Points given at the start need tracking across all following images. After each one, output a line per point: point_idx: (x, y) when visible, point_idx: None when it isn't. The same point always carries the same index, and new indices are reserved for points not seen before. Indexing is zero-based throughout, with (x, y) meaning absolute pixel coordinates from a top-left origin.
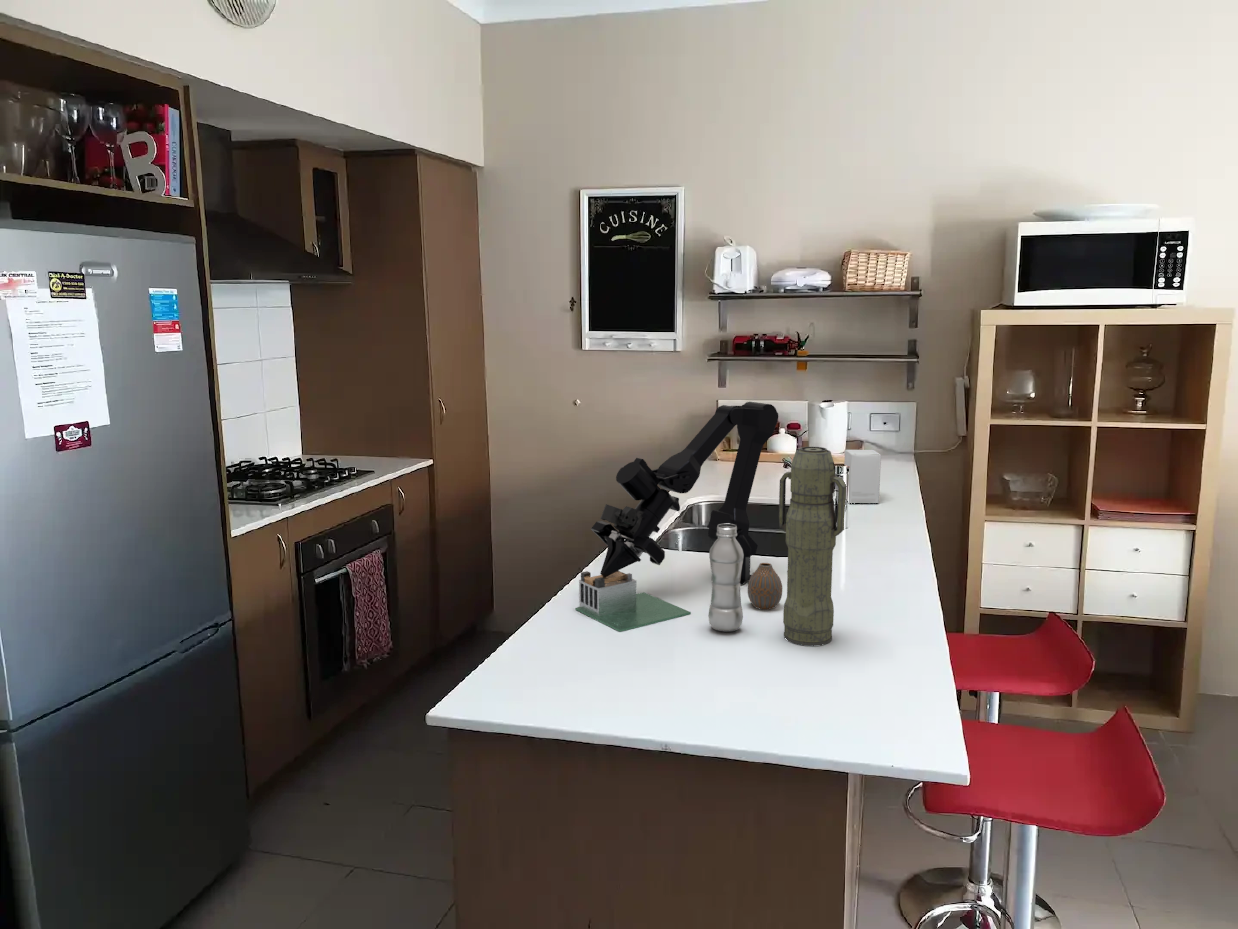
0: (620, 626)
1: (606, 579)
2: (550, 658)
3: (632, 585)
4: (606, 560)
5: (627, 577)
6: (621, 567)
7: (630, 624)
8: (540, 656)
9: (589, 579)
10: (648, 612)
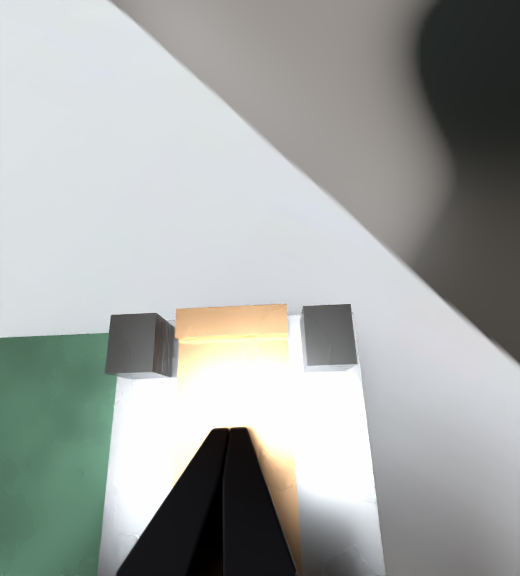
0: (22, 361)
1: (174, 435)
2: (8, 81)
3: None
4: (245, 545)
5: None
6: None
7: (9, 411)
8: (38, 69)
9: (220, 308)
10: None
